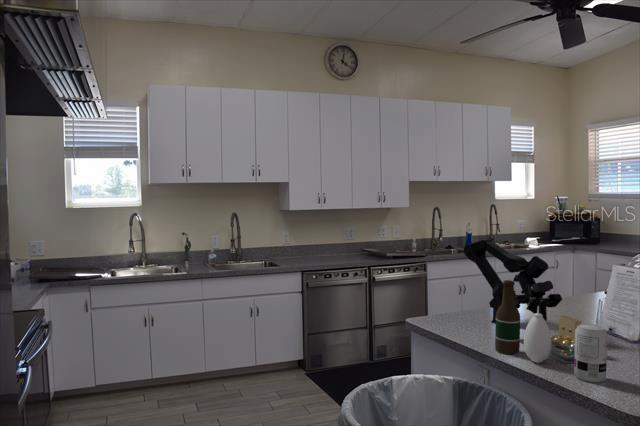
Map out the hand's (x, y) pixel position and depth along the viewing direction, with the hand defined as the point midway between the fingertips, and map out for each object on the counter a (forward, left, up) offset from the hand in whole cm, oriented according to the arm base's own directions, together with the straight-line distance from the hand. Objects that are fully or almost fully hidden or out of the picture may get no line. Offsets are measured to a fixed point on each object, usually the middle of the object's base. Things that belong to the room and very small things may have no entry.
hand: (545, 320), depth 187 cm
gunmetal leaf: (+12, -18, -6) cm, 23 cm away
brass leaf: (+9, -9, -6) cm, 14 cm away
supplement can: (+21, -34, -7) cm, 41 cm away
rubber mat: (+7, -12, -7) cm, 15 cm away
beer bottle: (-6, -24, -7) cm, 26 cm away
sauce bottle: (+5, -29, -7) cm, 31 cm away
